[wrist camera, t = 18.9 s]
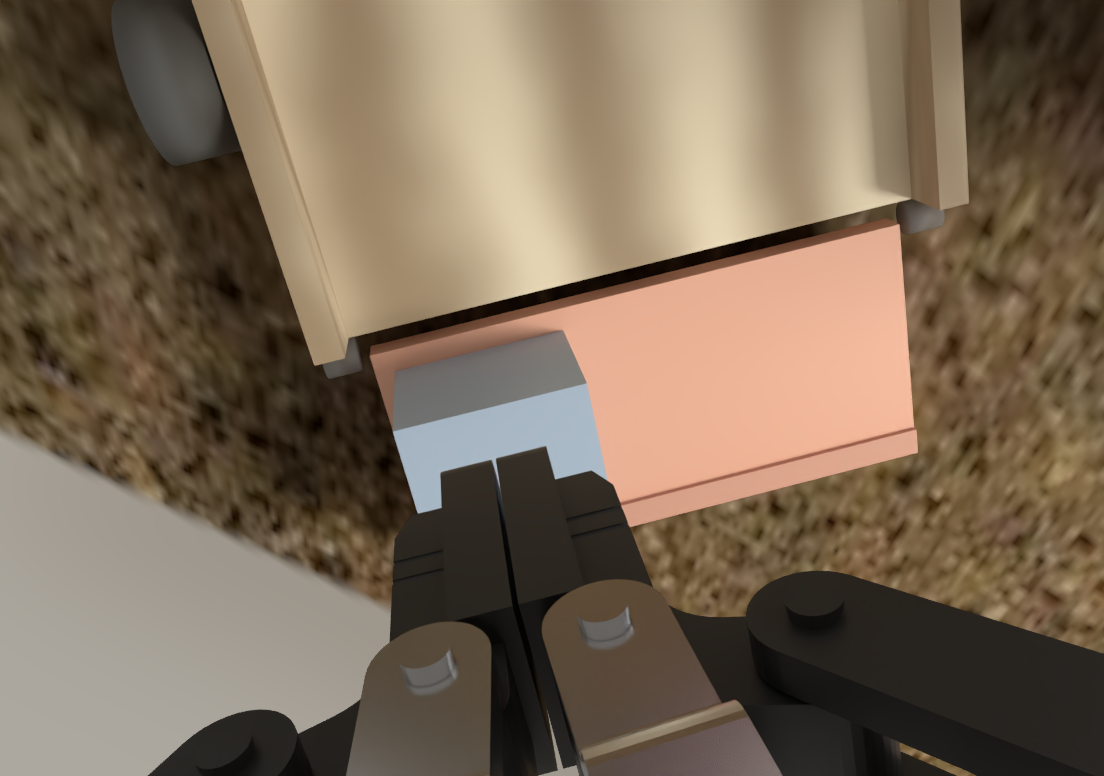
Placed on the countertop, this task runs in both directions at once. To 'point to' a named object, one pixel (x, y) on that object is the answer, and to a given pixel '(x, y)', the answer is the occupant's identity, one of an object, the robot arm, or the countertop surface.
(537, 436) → the blue gray block
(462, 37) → the flatbed
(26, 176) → the countertop surface
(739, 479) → the pink rectangular board
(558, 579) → the robot arm
